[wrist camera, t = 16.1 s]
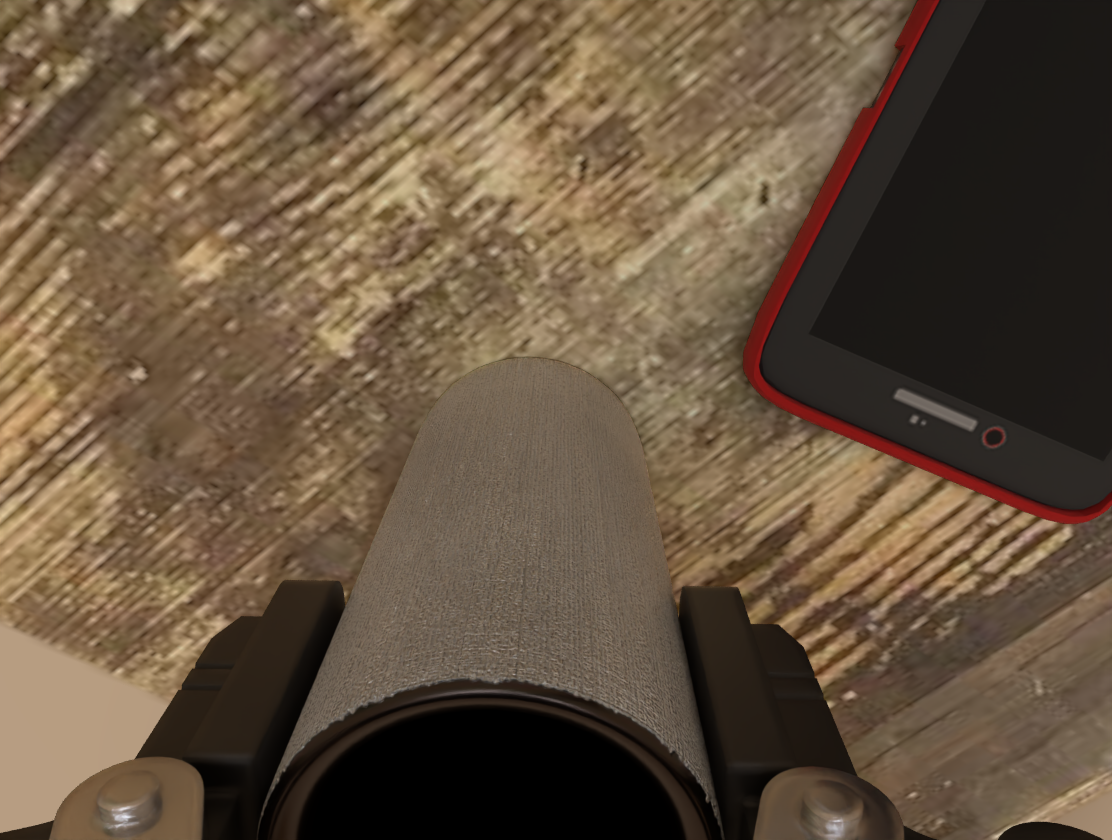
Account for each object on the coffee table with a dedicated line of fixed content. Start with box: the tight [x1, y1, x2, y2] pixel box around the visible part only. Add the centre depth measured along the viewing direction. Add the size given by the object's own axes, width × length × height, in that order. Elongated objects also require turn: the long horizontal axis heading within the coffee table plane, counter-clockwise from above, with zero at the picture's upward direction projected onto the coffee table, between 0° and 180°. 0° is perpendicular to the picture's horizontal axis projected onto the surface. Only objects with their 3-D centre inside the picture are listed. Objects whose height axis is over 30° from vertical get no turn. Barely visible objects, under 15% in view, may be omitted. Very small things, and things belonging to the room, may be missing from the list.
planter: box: [257, 357, 725, 840], centre depth 14 cm, size 4×4×10 cm
